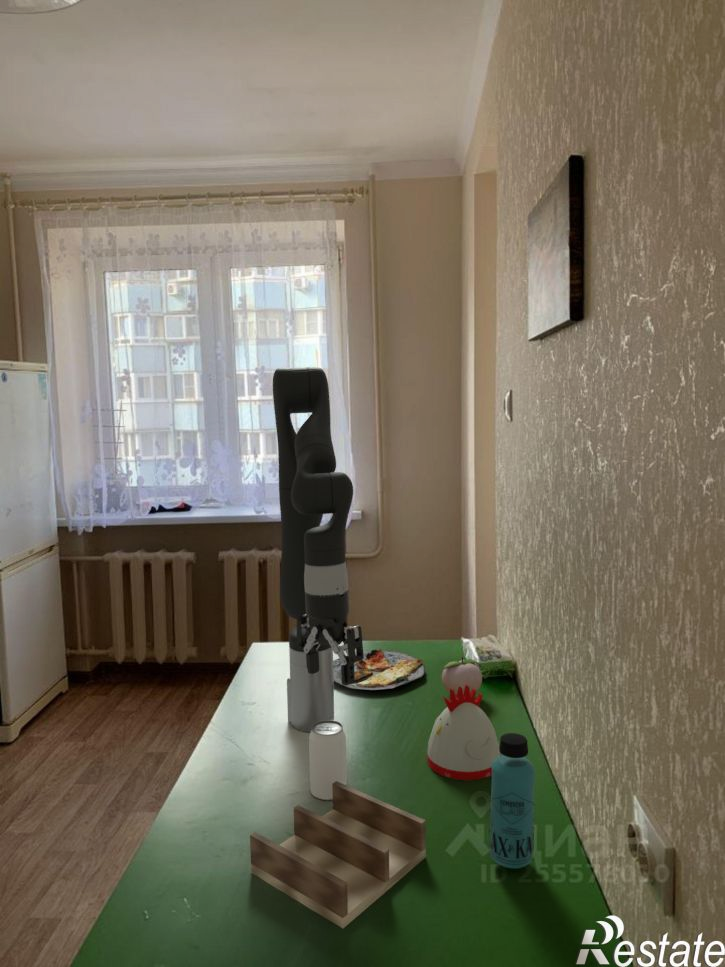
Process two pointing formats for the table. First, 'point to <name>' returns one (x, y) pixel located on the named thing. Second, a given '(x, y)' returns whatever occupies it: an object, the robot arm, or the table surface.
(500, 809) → the beverage bottle
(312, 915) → the table surface
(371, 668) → the food plate
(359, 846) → the rack
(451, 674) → the decorative fruit
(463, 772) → the kitchen timer
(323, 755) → the can
